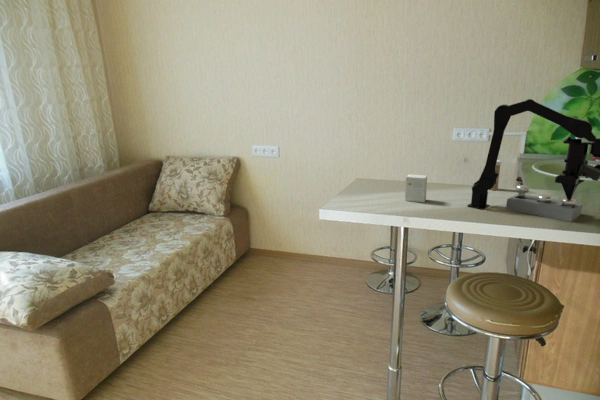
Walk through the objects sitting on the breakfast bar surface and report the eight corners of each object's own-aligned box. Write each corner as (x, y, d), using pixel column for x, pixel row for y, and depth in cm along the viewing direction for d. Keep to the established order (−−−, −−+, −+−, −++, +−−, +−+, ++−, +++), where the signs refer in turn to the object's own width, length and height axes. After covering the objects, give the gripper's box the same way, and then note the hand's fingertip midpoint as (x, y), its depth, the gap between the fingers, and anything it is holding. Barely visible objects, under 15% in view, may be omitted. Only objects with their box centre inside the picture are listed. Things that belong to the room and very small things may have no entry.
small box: (426, 199, 173) (427, 175, 170) (424, 202, 168) (425, 178, 166) (407, 197, 177) (408, 173, 174) (404, 200, 172) (405, 176, 169)
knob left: (525, 200, 156) (526, 188, 155) (513, 198, 159) (514, 186, 158) (529, 198, 159) (531, 186, 157) (517, 196, 162) (519, 184, 161)
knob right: (572, 214, 145) (574, 201, 144) (558, 212, 148) (560, 199, 147) (575, 212, 148) (578, 199, 147) (562, 209, 151) (564, 197, 150)
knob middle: (547, 210, 151) (549, 198, 149) (534, 208, 154) (536, 196, 153) (551, 208, 154) (553, 196, 152) (538, 206, 157) (540, 194, 155)
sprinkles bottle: (499, 189, 188) (503, 160, 184) (494, 190, 185) (497, 161, 182) (490, 187, 191) (493, 159, 188) (485, 188, 189) (488, 160, 185)
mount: (570, 221, 142) (572, 210, 141) (505, 209, 158) (507, 199, 157) (580, 214, 150) (582, 204, 149) (517, 202, 166) (519, 193, 165)
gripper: (597, 163, 131) (588, 209, 135) (610, 155, 143) (602, 198, 147) (557, 159, 139) (551, 202, 143) (574, 152, 151) (567, 193, 155)
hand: (569, 199), depth 147 cm, fingers closed, pressing on knob right
